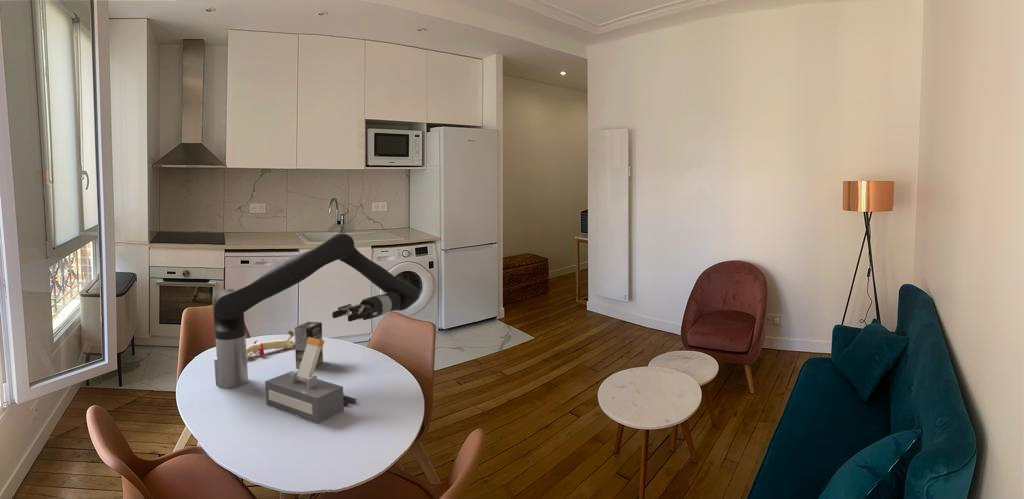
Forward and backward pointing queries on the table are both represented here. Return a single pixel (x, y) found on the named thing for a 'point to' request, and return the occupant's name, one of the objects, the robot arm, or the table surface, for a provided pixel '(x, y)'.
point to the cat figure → (270, 345)
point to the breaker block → (306, 397)
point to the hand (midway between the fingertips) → (340, 316)
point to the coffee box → (301, 338)
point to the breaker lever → (309, 359)
